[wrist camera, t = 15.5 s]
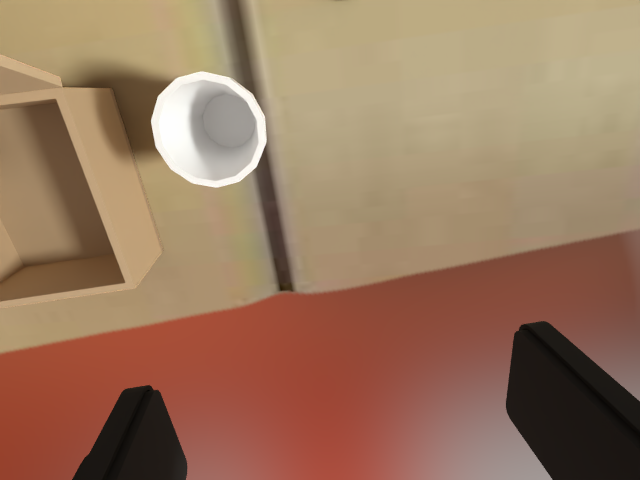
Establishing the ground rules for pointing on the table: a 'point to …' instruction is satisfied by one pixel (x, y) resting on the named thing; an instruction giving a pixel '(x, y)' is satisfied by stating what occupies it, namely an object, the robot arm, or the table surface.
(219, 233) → the table surface
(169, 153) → the foam cup
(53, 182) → the carton
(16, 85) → the carton lid
